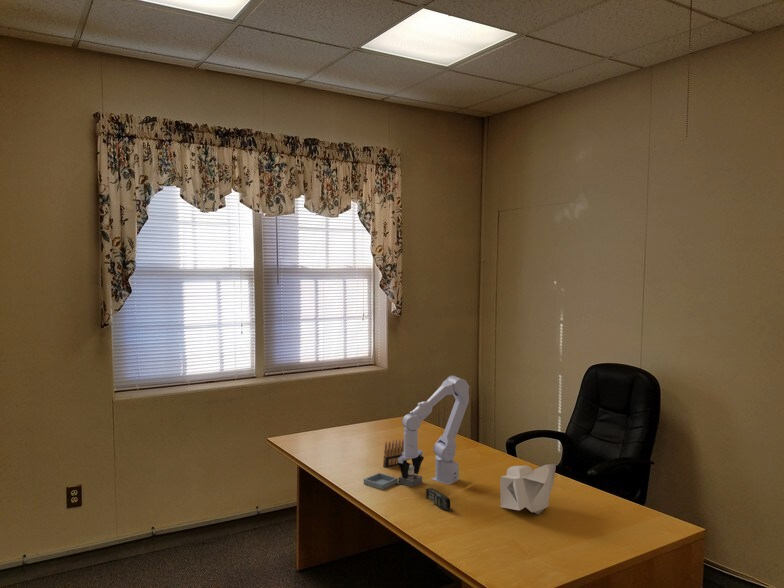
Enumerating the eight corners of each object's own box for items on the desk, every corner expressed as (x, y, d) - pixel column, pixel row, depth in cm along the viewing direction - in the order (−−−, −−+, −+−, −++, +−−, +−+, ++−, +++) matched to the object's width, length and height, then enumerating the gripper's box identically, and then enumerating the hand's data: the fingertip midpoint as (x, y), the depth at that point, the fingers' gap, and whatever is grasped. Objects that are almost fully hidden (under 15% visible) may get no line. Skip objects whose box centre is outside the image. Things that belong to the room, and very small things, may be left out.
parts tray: (397, 484, 242) (397, 478, 242) (382, 491, 234) (382, 484, 234) (379, 478, 248) (379, 472, 248) (363, 485, 241) (363, 479, 241)
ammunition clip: (403, 463, 268) (403, 438, 267) (405, 464, 266) (405, 439, 266) (383, 467, 263) (383, 441, 262) (385, 468, 261) (385, 442, 260)
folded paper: (496, 463, 217) (532, 481, 203) (540, 452, 231) (576, 468, 217) (493, 507, 219) (528, 527, 205) (536, 494, 233) (571, 512, 219)
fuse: (415, 482, 242) (415, 466, 242) (411, 484, 240) (411, 468, 240) (409, 481, 244) (409, 464, 244) (405, 483, 242) (405, 466, 242)
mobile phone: (424, 487, 226) (448, 499, 213) (431, 486, 227) (454, 498, 215) (424, 500, 226) (448, 513, 213) (431, 499, 228) (454, 511, 215)
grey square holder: (422, 483, 243) (422, 476, 243) (412, 488, 237) (412, 481, 237) (408, 479, 247) (408, 472, 247) (398, 484, 242) (398, 477, 242)
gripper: (413, 438, 250) (413, 469, 250) (392, 445, 239) (391, 478, 239) (426, 441, 245) (426, 472, 246) (405, 449, 234) (405, 482, 235)
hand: (410, 475), depth 242 cm, fingers open, 7 cm apart
